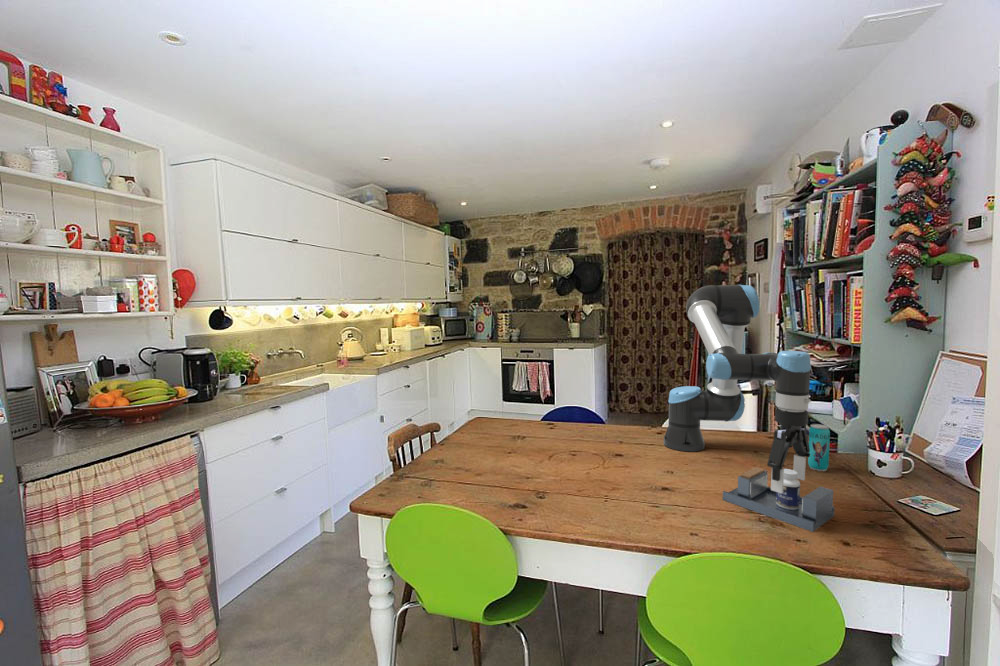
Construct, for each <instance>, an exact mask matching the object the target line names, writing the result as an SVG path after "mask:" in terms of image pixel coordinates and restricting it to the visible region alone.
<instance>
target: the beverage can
mask: <svg viewBox="0 0 1000 666" xmlns="http://www.w3.org/2000/svg"><path fill="white" fill-rule="evenodd" d="M808 432H809V433H808V443H809V449H810V452H809V453H810V457H807V464H808V467H809V469H811V470H812V469H813V470H812V471H815V470H817V471H816V472H821V471H823V472H826V471H827V470H828V468H829V465H830V464H829V463H830V438H831V431H830V426H828V425H826V424H820V423H811V424H810V427H809V431H808Z"/></svg>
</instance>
